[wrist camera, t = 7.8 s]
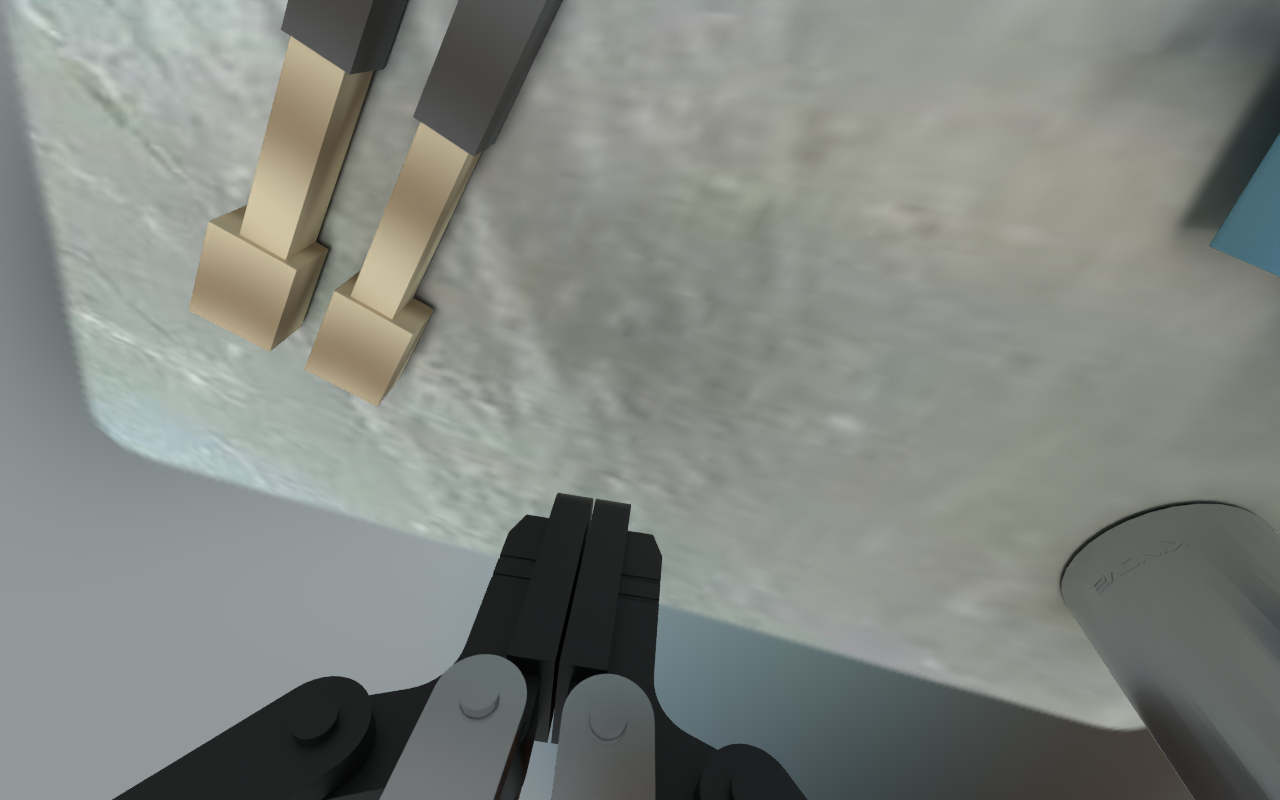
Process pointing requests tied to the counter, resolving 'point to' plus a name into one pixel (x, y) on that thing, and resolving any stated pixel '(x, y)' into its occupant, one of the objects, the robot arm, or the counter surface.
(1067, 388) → the counter surface
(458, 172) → the tong arm
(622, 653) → the robot arm
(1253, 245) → the teakettle
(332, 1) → the tongs frame
